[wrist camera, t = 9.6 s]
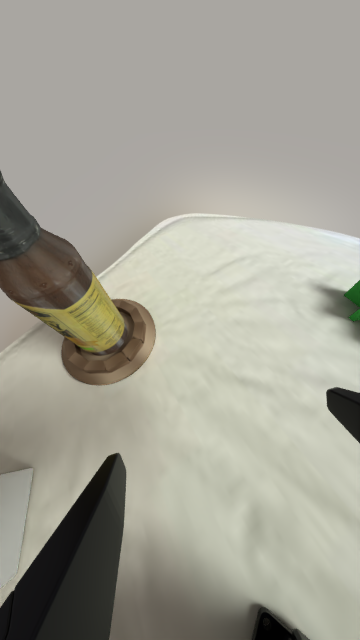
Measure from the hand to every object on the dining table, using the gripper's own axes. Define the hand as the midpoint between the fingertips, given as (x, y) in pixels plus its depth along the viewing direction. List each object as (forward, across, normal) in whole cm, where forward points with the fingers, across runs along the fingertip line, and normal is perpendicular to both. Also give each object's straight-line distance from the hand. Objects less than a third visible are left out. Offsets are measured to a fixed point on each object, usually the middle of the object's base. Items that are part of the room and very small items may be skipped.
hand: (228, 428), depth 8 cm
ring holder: (+20, +10, 0) cm, 22 cm away
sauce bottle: (+19, +10, 0) cm, 22 cm away
